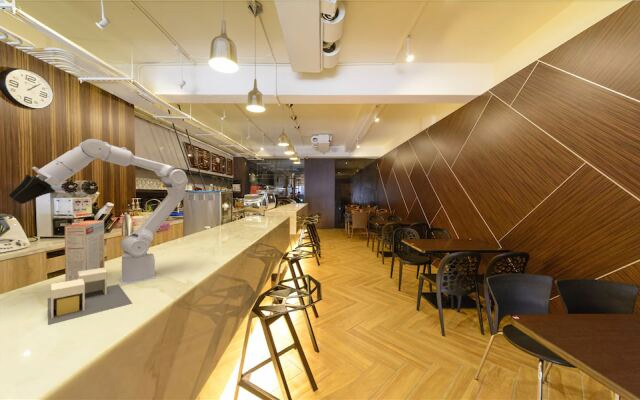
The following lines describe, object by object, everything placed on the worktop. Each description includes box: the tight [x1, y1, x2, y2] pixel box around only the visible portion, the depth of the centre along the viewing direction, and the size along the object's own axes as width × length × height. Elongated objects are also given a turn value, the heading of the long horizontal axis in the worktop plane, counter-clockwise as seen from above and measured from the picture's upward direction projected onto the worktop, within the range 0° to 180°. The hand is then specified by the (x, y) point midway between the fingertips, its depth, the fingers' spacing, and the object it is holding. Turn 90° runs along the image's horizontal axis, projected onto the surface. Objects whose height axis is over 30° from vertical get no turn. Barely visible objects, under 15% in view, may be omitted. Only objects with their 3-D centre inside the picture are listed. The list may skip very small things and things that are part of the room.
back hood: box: [78, 267, 108, 295], centre depth 74 cm, size 6×6×7 cm
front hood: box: [50, 279, 85, 319], centre depth 64 cm, size 6×6×7 cm
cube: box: [56, 294, 79, 316], centre depth 64 cm, size 4×4×4 cm
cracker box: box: [64, 220, 105, 282], centre depth 85 cm, size 14×6×21 cm, turn 23°
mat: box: [47, 284, 133, 326], centre depth 70 cm, size 16×20×1 cm
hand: (14, 199), depth 66 cm, fingers open, 7 cm apart
